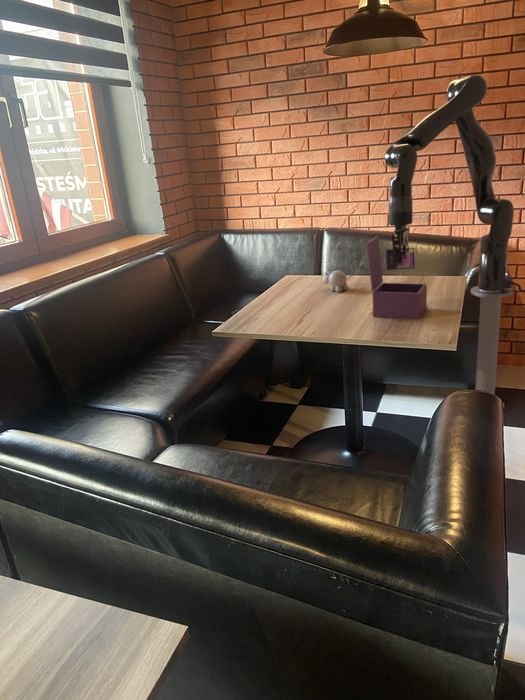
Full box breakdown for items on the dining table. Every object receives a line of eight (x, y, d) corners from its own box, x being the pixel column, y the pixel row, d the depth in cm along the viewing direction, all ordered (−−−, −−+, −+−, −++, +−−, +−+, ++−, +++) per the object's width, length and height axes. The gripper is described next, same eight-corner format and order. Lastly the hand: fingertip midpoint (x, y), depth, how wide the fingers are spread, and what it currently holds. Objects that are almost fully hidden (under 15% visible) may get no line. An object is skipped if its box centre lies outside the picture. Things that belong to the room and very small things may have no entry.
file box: (426, 308, 188) (426, 283, 185) (419, 319, 178) (419, 293, 175) (382, 306, 195) (382, 282, 192) (373, 316, 185) (372, 292, 182)
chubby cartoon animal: (330, 286, 229) (329, 266, 226) (350, 289, 220) (349, 269, 217) (318, 289, 225) (316, 270, 222) (338, 293, 216) (337, 273, 213)
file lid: (378, 236, 187) (376, 236, 187) (368, 242, 176) (366, 243, 177) (382, 281, 192) (381, 281, 192) (373, 291, 182) (371, 291, 182)
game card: (386, 249, 179) (414, 247, 177) (385, 251, 184) (412, 249, 182) (387, 269, 179) (414, 267, 177) (386, 271, 184) (413, 269, 183)
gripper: (407, 212, 167) (407, 266, 173) (416, 206, 179) (416, 257, 185) (383, 213, 170) (384, 266, 176) (394, 207, 182) (394, 256, 188)
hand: (400, 261), depth 180 cm, fingers closed on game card, 4 cm apart
